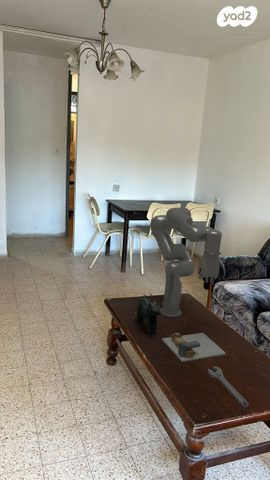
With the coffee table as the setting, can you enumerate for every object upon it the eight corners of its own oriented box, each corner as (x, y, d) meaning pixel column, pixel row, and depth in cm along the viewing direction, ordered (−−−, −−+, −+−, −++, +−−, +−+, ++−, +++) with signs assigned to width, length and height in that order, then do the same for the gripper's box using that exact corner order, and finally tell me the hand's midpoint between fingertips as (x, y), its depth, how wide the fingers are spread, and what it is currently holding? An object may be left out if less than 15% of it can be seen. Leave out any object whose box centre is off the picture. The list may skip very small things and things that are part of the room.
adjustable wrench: (249, 408, 138) (250, 404, 137) (234, 410, 136) (235, 406, 135) (217, 369, 161) (218, 365, 160) (204, 370, 159) (205, 367, 159)
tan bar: (170, 338, 181) (171, 332, 180) (178, 337, 182) (179, 331, 181) (186, 357, 165) (186, 350, 164) (194, 356, 166) (195, 349, 166)
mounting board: (162, 339, 181) (163, 328, 179) (202, 334, 190) (204, 323, 189) (181, 362, 163) (183, 349, 162) (225, 354, 172) (227, 342, 171)
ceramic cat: (158, 336, 184) (162, 300, 179) (147, 337, 182) (151, 301, 177) (143, 318, 202) (147, 285, 197) (133, 319, 200) (136, 286, 195)
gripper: (219, 252, 186) (214, 285, 191) (194, 253, 181) (189, 287, 185) (228, 256, 180) (222, 290, 184) (202, 257, 174) (197, 293, 178)
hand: (206, 289), depth 185 cm, fingers closed
